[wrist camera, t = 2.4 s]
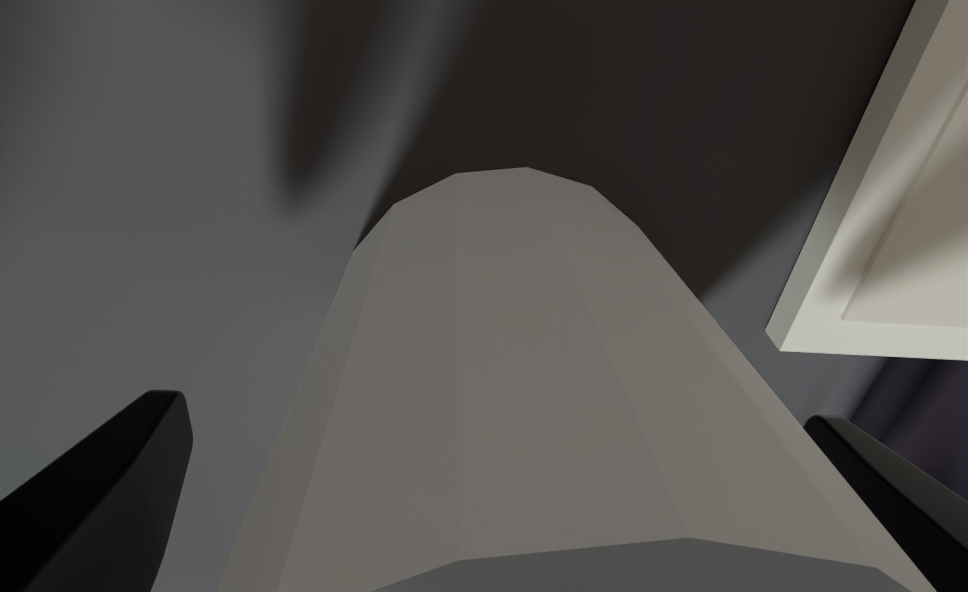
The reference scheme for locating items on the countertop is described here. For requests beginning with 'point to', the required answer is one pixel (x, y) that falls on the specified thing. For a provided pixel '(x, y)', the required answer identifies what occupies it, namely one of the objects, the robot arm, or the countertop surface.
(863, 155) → the coaster
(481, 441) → the shot glass
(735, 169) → the countertop surface
